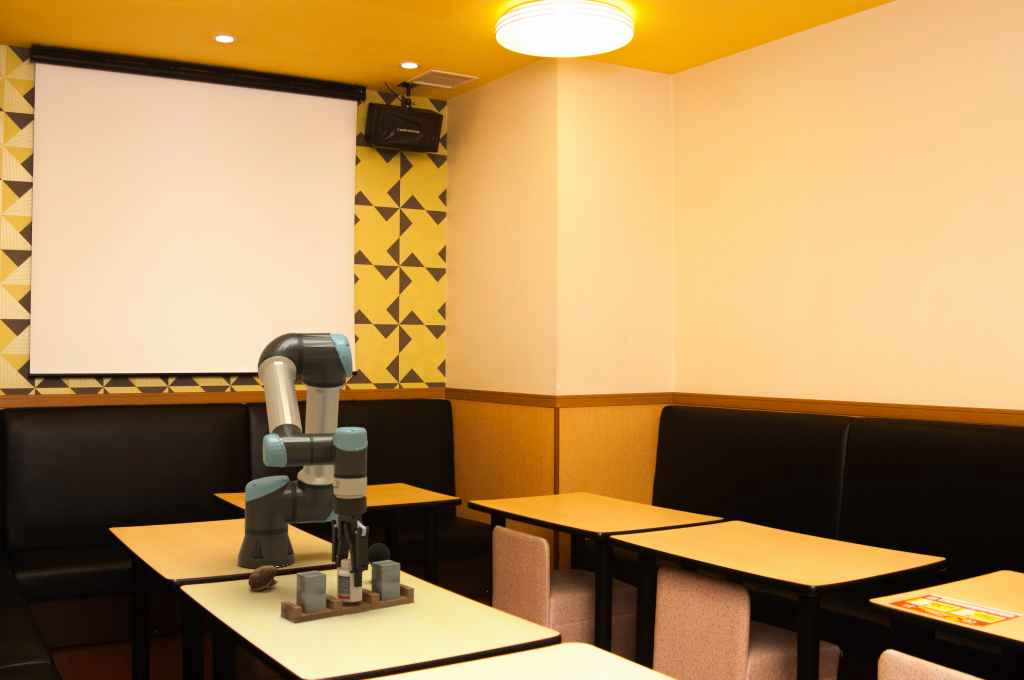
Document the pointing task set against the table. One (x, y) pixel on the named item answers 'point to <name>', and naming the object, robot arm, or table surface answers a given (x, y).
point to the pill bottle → (344, 580)
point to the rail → (321, 605)
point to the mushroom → (263, 578)
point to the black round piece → (378, 553)
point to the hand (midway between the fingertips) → (349, 597)
